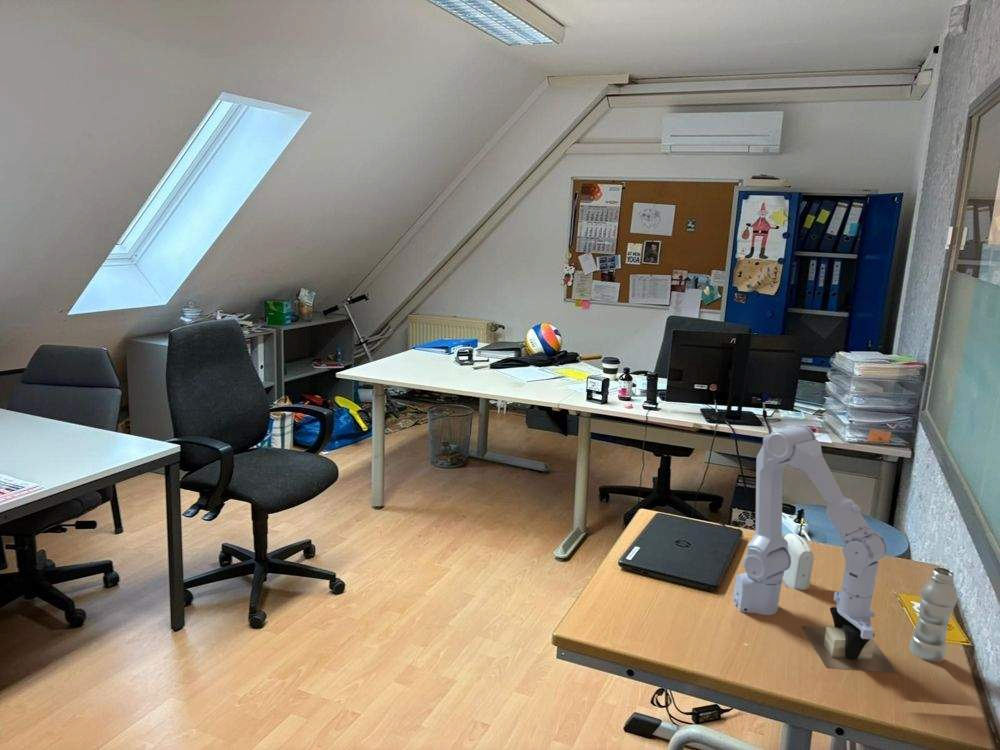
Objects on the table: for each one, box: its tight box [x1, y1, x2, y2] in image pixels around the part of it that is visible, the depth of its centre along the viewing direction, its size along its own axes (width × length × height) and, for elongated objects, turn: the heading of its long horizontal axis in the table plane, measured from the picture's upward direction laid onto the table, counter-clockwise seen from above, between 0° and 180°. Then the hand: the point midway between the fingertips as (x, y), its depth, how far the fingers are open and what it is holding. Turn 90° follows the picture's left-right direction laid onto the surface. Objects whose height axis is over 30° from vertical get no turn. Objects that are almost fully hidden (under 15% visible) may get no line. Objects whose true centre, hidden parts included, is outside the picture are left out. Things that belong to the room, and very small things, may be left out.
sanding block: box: [824, 626, 876, 660], centre depth 153 cm, size 8×4×4 cm, turn 88°
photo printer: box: [782, 533, 815, 591], centre depth 182 cm, size 10×4×12 cm, turn 3°
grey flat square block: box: [800, 625, 899, 674], centre depth 155 cm, size 14×15×2 cm
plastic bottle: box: [908, 566, 958, 663], centre depth 153 cm, size 6×7×20 cm
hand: (846, 650), depth 153 cm, fingers closed on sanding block, 4 cm apart
